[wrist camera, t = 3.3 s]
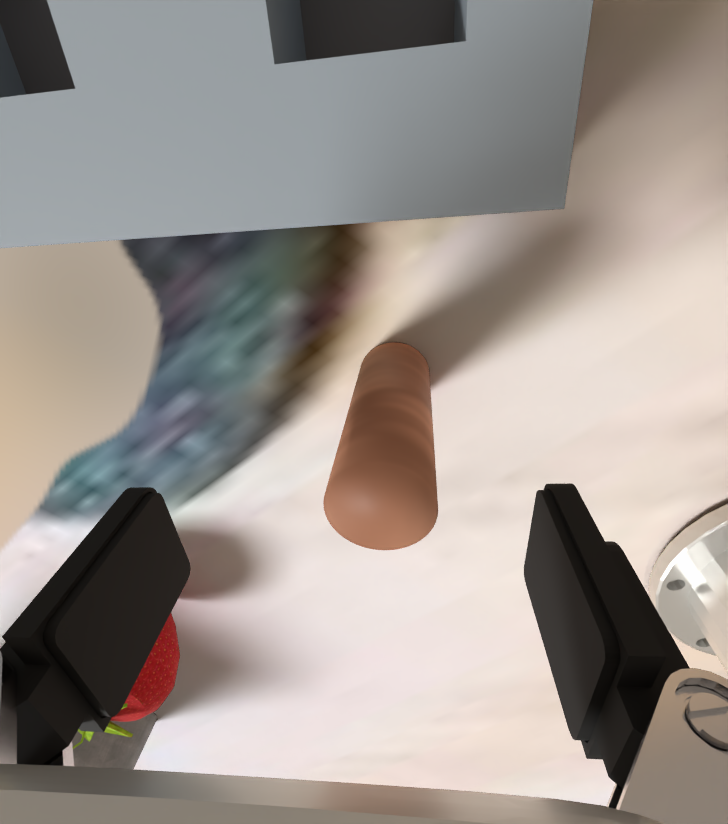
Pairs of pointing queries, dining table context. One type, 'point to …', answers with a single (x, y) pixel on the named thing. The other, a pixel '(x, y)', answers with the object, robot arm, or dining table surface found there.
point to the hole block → (280, 113)
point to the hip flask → (114, 745)
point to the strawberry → (148, 682)
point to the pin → (386, 454)
